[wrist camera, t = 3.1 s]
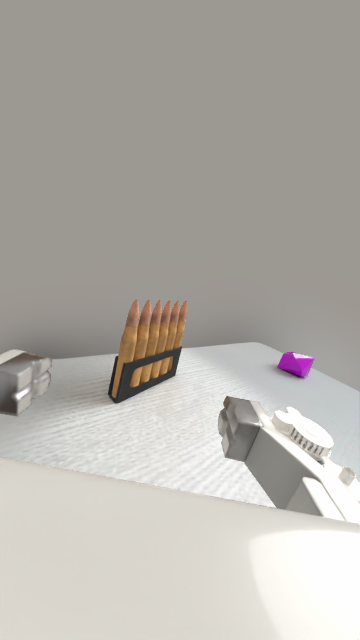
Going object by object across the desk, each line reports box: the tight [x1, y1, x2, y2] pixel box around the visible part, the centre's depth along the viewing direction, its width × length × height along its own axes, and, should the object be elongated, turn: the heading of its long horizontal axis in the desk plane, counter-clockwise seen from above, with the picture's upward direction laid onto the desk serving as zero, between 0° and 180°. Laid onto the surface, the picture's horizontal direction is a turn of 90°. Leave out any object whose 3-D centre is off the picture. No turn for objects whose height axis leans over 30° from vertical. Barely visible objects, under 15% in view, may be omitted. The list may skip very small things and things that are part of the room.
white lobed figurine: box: [270, 407, 360, 504], centre depth 21 cm, size 9×9×2 cm
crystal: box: [278, 352, 314, 377], centre depth 42 cm, size 5×5×5 cm
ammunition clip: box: [108, 300, 187, 403], centre depth 24 cm, size 11×2×12 cm, turn 142°
